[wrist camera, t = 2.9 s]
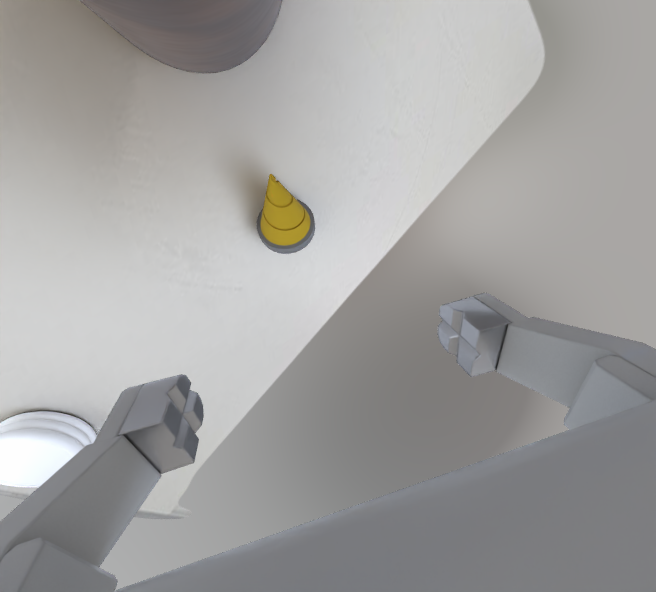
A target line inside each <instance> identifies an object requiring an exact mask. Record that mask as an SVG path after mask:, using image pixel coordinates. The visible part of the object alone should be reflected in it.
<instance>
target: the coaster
mask: <svg viewBox="0 0 656 592" xmlns="http://www.w3.org/2000/svg"><path fill="white" fill-rule="evenodd" d="M96 437H97V435H96V433H95V431H94V430H93V428H92V427H91V426H90V425H88V424H87V423H86V422H84V421H83V420H81V419H79V418H77V417H74V416H71V415H68V414H64V413H58V412H49V411H38V412H29V413H23V414H19V415H15V416H13V417H10V418H8V419H6V420H4V421H3V422H1V423H0V484H3V485H7V486H13V487H26V488H33V487H40V486H41V485H42V484H43V483H44V482H45V481H47V480H48V479H49V478H50V477H51V476H52V475H53V474H54V473H56V472H57V471H58V470H59V469H60V468H61V467H62V466H63V465H65V464H66V463H67V462H68V461H69V460H70V459H71V458H73V457H74V456H75V455H76V454H77V453H78V452H79V451H80V450H82V449H83V448H84V447H85V446H86V445H89V444H92V443H94V441H95V439H96Z"/></svg>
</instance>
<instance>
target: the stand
mask: <svg viewBox="0 0 656 592" xmlns="http://www.w3.org/2000/svg"><path fill="white" fill-rule="evenodd" d="M80 1H81V2H82V3H83V4H84V5H86V6H87V7H88V8H89V9H91V10H92V11H93V12H94V13H95V14H97V15H98V16H99V17H100V18H101V19H103V20H104V21H105V22H106V23H108V24H109V25H110V26H111V27H112V28H114V29H115V30H116V31H117V32H118V33H120V34H121V35H122V36H123V37H125V38H126V39H127V40H128V41H129V42H131V43H132V44H133V45H134V46H136V47H137V48H139V49H140V50H142V51H143V52H145V53H146V54H147V55H149V56H151V57H153V58H155V59H156V60H158V61H160V62H162V63H164V64H167V65H169V66H172V67H174V68H177V69H181V70H185V71H189V72H196V73H216V72H221V71H225V70H229V69H231V68H233V67H236V66H238V65H240V64H241V63H243V62H244V61H246V60H248V59H249V58H250V57H251V56H252V55H253V54H254V53H255V52H257V51H258V49H259V48H260V47H261V46H262V44H263V43H264V42H265V41H266V39H267V37H268V36H269V34H270V32H271V30H272V29H273V26H274V24H275V22H276V19H277V17H278V14H279V11H280V7H281V4H282V0H80Z"/></svg>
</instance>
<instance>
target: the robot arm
mask: <svg viewBox="0 0 656 592" xmlns="http://www.w3.org/2000/svg"><path fill="white" fill-rule="evenodd" d="M439 316H440V317H441V318H442V319H443V320H442V321H441V323H440V324H439V325H438V337H439V341H440V343H441V344H442V346H443V348H444V349H445V350H446V351H447V352H448V353H450V354H452V355H455V356H457V363H458V364H459V365H460V366H461V367H462V368H463V369H464V371H465V372H467V374H468V375H469V376H470V377H474V376H477V375H481V374H484V373H488V372H491V371H495V370H496V372H498V373H500V374H502V375H504V376H506V377H508V378H510V379H512V380H514V381H516V382H518V383H520V384H522V385H524V386H526V387H528V388H530V389H532V390H534V391H536V392H538V393H541V394H543V395H545V396H547V397H549V398H551V399H553V400H555V401H557V402H559V403H561V404H563V405H565V406H567V407H569V408H570V409H569V411H568V413H567V414H566V416H565V418H564V425H565V426H566V427H567V428H569V430H568V431H565V432H562V433H559V434H556V435H553V436H551V437H548V438H545V439H542V440H540V441H536V442H534V443H531V444H528V445H525V446H522V447H520V448H516V449H514V450H511V451H508V452H506V453H502V454H499V455H497V456H494V457H491V458H488V459H486V460H483V461H480V462H477V463H474V464H472V465H468V466H466V467H463V468H460V469H457V470H454V471H451V472H449V473H446V474H443V475H440V476H437V477H434V478H432V479H429V480H426V481H423V482H420V483H417V484H415V485H412V486H409V487H406V488H403V489H401V490H398V491H395V492H392V493H389V494H387V495H383V496H381V497H378V498H375V499H372V500H369V501H366V502H364V503H361V504H358V505H355V506H353V507H350V508H347V509H344V510H341V511H338V512H335V513H333V514H330V515H327V516H324V517H322V518H318V519H316V520H313V521H310V522H307V523H304V524H301V525H299V526H296V527H293V528H290V529H287V530H285V531H282V532H279V533H276V534H273V535H270V536H268V537H265V538H262V539H259V540H256V541H254V542H251V543H248V544H245V545H242V546H239V547H237V548H234V549H231V550H228V551H226V552H222V553H220V554H217V555H214V556H211V557H208V558H205V559H203V560H200V561H197V562H194V563H191V564H189V565H186V566H183V567H180V568H177V569H175V570H171V571H169V572H166V573H163V574H160V575H157V576H155V577H152V578H149V579H146V580H143V581H141V582H138V583H135V584H132V585H129V586H126V587H123V588H121V589H118V590H115V588H116V585H117V579H116V577H115V576H114V575H113V574H110V573H109V572H107V571H105V570H103V569H101V568H99V567H100V565H101V564H102V562H103V561H104V559H105V558H106V557H107V555H108V554H109V552H110V550H111V549H112V548H113V546H114V545H115V543H116V542H117V540H118V539H119V537H120V536H121V534H122V533H123V532H124V530H125V529H126V527H127V526H128V524H129V523H130V521H131V520H132V518H133V517H134V515H135V514H136V513H137V511H138V510H139V508H140V507H141V505H142V504H143V502H144V501H145V499H146V498H147V496H148V495H149V493H150V492H151V491H152V489H153V488H154V486H155V485H156V483H157V482H158V480H159V479H160V477H161V474H162V473H165V472H168V471H171V470H174V469H177V468H180V467H183V466H186V465H189V464H192V463H194V460H195V456H196V451H197V446H198V441H199V439H198V437H197V436H196V434H195V433H196V432H197V430H198V429H199V428H200V427H201V425H202V421H203V416H204V415H203V404H202V401H201V398H200V397H199V395H198V393H196V392H194V391H191V390H189V389H190V385H191V382H190V380H189V379H188V378H187V376H186V375H182V374H181V375H177V376H173V377H169V378H165V379H161V380H157V381H153V382H149V383H146V384H142V385H138V386H134V387H130V388H127V389H126V390H124V391H123V392H122V393H121V395H120V397H119V398H118V400H117V402H116V404H115V405H114V407H113V409H112V411H111V412H110V414H109V416H108V418H107V420H106V421H105V423H104V425H103V427H102V428H101V430H100V432H99V434H98V435H97V437H96V439H95V441H94V443H92V444H89V445H86V446H85V447H84V448H83V449H82V450H80V451H79V452H78V453H77V454H76V455H75V456H74V457H73V458H71V459H70V460H69V461H68V462H67V463H66V464H65V465H63V466H62V467H61V468H60V469H59V470H58V471H57V472H56V473H54V474H53V475H52V476H51V477H50V478H49V479H48V480H47V481H45V482H44V483H43V484H42V485H41V486H40V487H39V488H38V489H36V490H35V491H34V492H33V493H32V494H31V495H30V496H28V497H27V498H26V499H25V500H24V501H23V502H22V503H21V504H20V505H18V506H17V507H16V508H15V509H14V510H13V511H12V512H10V514H8V515H7V516H6V517H5V518H4V519H3V520H1V521H0V592H656V349H654V348H652V347H650V346H648V345H646V344H644V343H641V342H637V341H633V340H629V339H625V338H620V337H616V336H612V335H608V334H603V333H599V332H595V331H591V330H586V329H582V328H578V327H573V326H569V325H565V324H561V323H557V322H552V321H548V320H544V319H540V318H535V317H531V318H527V317H526V316H524V315H523V314H521V313H520V312H518V311H516V310H515V309H513V308H512V307H510V306H508V305H506V304H505V303H504V302H502V301H500V300H498V299H497V298H495V297H494V296H492V295H491V294H488V293H481V294H478V295H474V296H471V297H469V298H465V299H461V300H458V301H454V302H451V303H447V304H443V305H442V306H441V307H440V310H439Z"/></svg>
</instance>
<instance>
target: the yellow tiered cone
mask: <svg viewBox="0 0 656 592" xmlns="http://www.w3.org/2000/svg"><path fill="white" fill-rule="evenodd" d="M275 179H276V178H275V177H274V176H273V175H272V174H270V175H269V180H268V185H267V191H266V196H265V201H264V207H263V209H262V210H261V212H260V214H259V216H258V219H257V231H258V234H259V236H260V238H261V240H262V242H263V243H264V244H265V245H266V246H267V247H268V248H269V249H271V250H272V251H274V252H277V253H283V254H289V253H294V252H297V251H299V250H301V249H303V248H304V247H306V246H307V245H308V244H309V243H310V241H311V240H312V238H313V235H314V231H315V223H314V217H313V213H312V212H311V210H310V208H309V207H308V206H307V205H306V204H304V203H303V202H301V201H299V200H296V199H295V198H294V197H293V196H292V195H291V194H290V193H289V192H288V191H287V190H286V189H285V187H284V186H283V185H282V184H281V183H280V182H279V181H276V180H275Z"/></svg>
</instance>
